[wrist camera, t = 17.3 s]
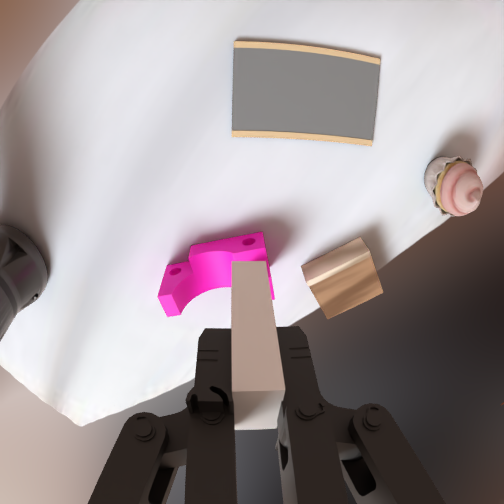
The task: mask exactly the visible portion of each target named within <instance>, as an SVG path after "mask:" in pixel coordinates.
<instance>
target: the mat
mask: <svg viewBox="0 0 504 504" xmlns="http://www.w3.org/2000/svg"><path fill="white" fill-rule="evenodd" d="M379 67H380V59H378V58H374V57H369V56H365V55H360V54H355V53H350V52H345V51H339V50H333V49H326V48H319V47H312V46H304V45H294V44H283V43H269V42H245V41H234V56H233V95H232V137H262V138H287V139H304V140H317V141H329V142H339V143H349V144H358V145H366V146H372V137H373V129H374V121H375V112H376V103H377V93H378V81H379Z"/></svg>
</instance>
